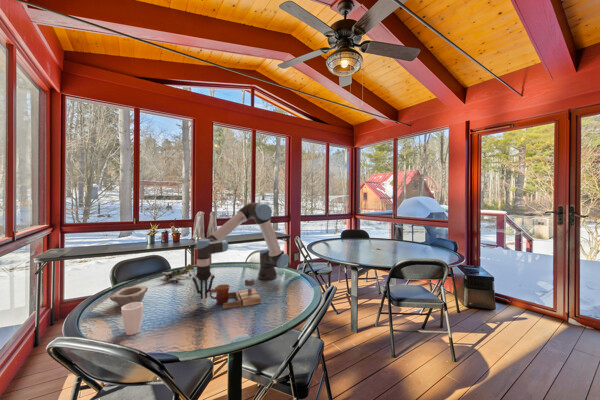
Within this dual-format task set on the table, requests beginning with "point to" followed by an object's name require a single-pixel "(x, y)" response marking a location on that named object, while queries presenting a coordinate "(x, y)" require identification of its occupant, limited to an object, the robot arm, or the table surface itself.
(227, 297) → the mug
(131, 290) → the mortar
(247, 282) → the wheel
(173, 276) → the toy airplane
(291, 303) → the table surface
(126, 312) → the foam cup
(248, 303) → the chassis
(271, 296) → the table surface
